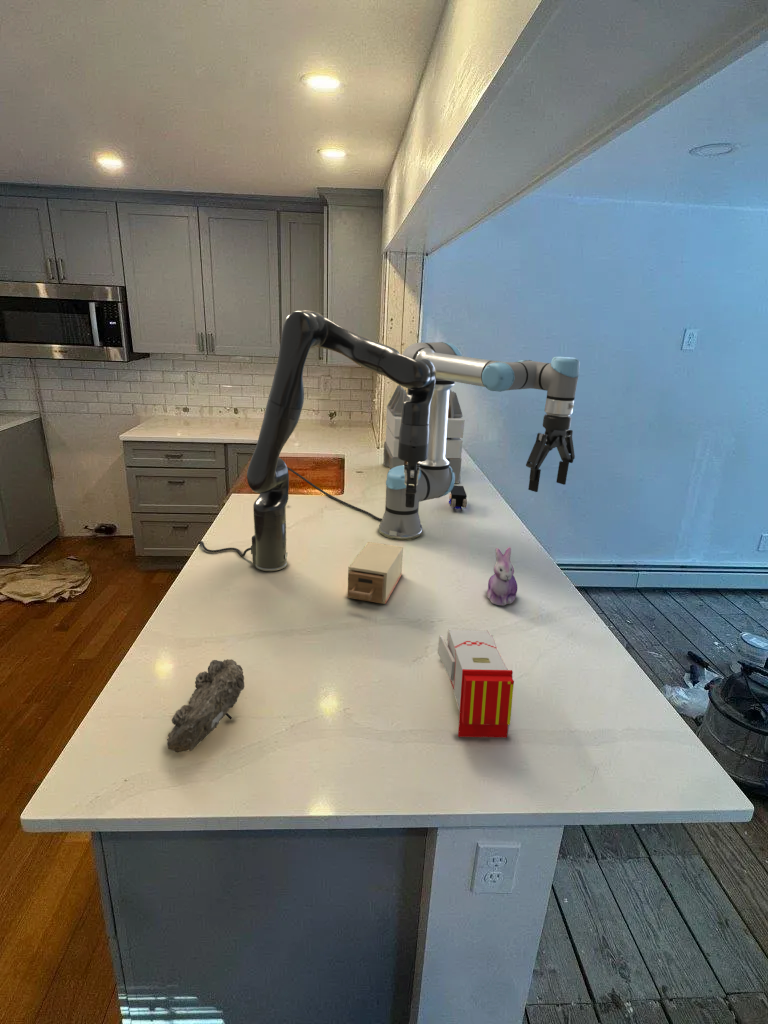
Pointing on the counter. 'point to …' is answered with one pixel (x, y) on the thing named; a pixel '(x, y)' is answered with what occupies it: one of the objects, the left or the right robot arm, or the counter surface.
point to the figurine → (502, 580)
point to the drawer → (365, 586)
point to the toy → (478, 682)
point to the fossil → (206, 705)
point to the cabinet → (380, 564)
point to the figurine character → (458, 497)
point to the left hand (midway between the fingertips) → (409, 501)
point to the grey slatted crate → (453, 432)
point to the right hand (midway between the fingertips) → (547, 487)
